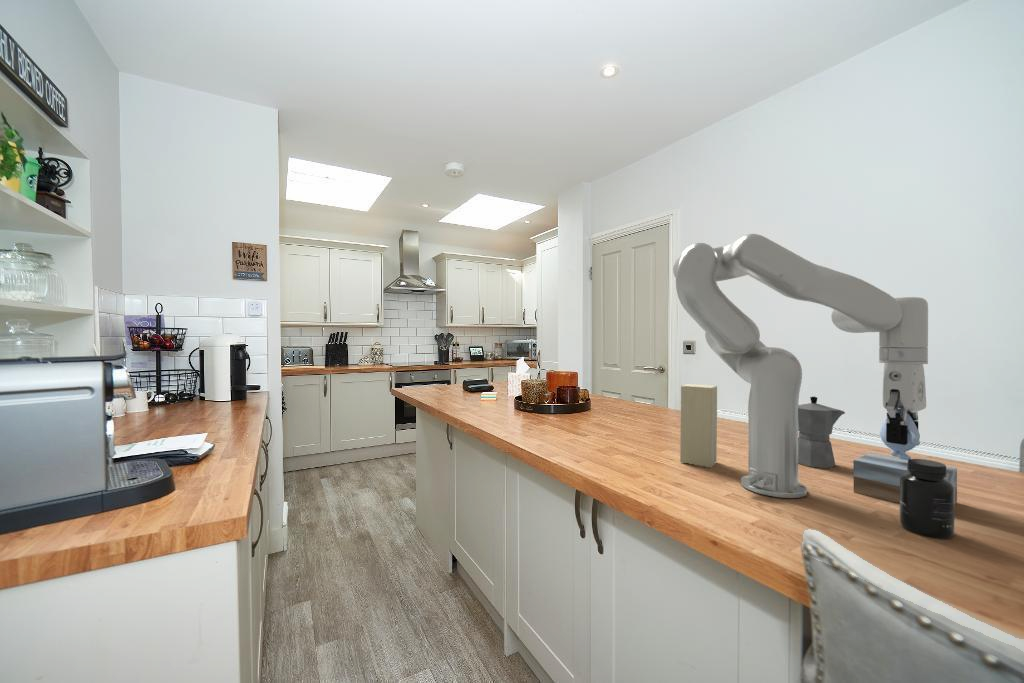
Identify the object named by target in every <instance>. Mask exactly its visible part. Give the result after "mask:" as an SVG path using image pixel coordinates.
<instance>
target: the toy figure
mask: <svg viewBox="0 0 1024 683" xmlns="http://www.w3.org/2000/svg"><path fill="white" fill-rule="evenodd" d="M897 409H898V408H897ZM901 409H902V408H901ZM899 414H900V413H899ZM900 415H902V414H900ZM900 417H901V416H900ZM886 419H887V416H885V419H884V420H883V423H882V425H881V427H880V431H879V437H880V439H881V441H882V442H883V444H884V445H885V446H886V447H888V449H890V450H891V451H890V455H891V457H895V458H900V459H903V460H909V459H912V458H911V456H910V455H908V454H907V453H906V452H910V451H911V450H913V449H914V448H916V447H918V446H920V443H921V442H920V439H921V437H920V435H921V433H920V432H919V428H918V429H917V427H916V425H915V423H914V421H913V420H912V418H911V416H910V415H909V414H908V413H907V416H906V423H905V425H908V443H907V444H906V445H901V444H895V443H889V442H887V441H886V423H887V422H886Z"/></svg>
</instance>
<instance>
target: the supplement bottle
mask: <svg viewBox="0 0 1024 683" xmlns="http://www.w3.org/2000/svg"><path fill="white" fill-rule="evenodd" d="M946 467H947V465H946V464H945V463H943V462H941V461H940V462H939V461H935V460H931V459H922V458H911V459H909V460H908V467H907V470H908V471H909V473H907V474H904V475H903V476H902V477H901V478H900V503H899V522H900V526H902V527H903V528H904V529H905V530H907V531H910V532H912V533H914V534H916V533H917V535H919V534H920V535H919V536H923V537H928V538H934V539H941V540H946V539H951V538H953V536H954V534H955V509H956V508H955V507H956V506H955V505H956V504H955V489H954V486H953V485H952V484H951V483H950V482H949V481H948V480H946V479H945V477H947V473H946Z"/></svg>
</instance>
